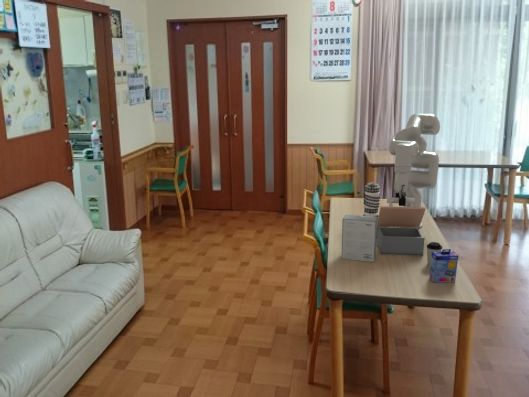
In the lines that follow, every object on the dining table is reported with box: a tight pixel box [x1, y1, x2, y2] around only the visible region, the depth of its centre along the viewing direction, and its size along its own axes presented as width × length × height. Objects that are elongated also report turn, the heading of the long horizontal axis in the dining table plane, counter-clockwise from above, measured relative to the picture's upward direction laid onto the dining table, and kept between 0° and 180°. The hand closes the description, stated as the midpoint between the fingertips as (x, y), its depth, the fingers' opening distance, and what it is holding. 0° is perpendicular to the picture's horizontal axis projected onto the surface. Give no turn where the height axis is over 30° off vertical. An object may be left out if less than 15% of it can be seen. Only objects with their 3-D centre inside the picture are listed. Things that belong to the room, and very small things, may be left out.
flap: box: [377, 197, 427, 229], centre depth 252 cm, size 16×21×8 cm
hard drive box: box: [341, 214, 377, 263], centre depth 238 cm, size 16×8×20 cm, turn 71°
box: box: [376, 227, 425, 257], centre depth 250 cm, size 15×20×9 cm
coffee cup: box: [426, 241, 443, 267], centre depth 231 cm, size 7×7×10 cm
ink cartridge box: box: [429, 248, 459, 283], centre depth 214 cm, size 10×6×14 cm, turn 95°
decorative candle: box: [362, 182, 381, 221], centre depth 283 cm, size 9×9×25 cm
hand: (400, 203), depth 251 cm, fingers open, 9 cm apart
